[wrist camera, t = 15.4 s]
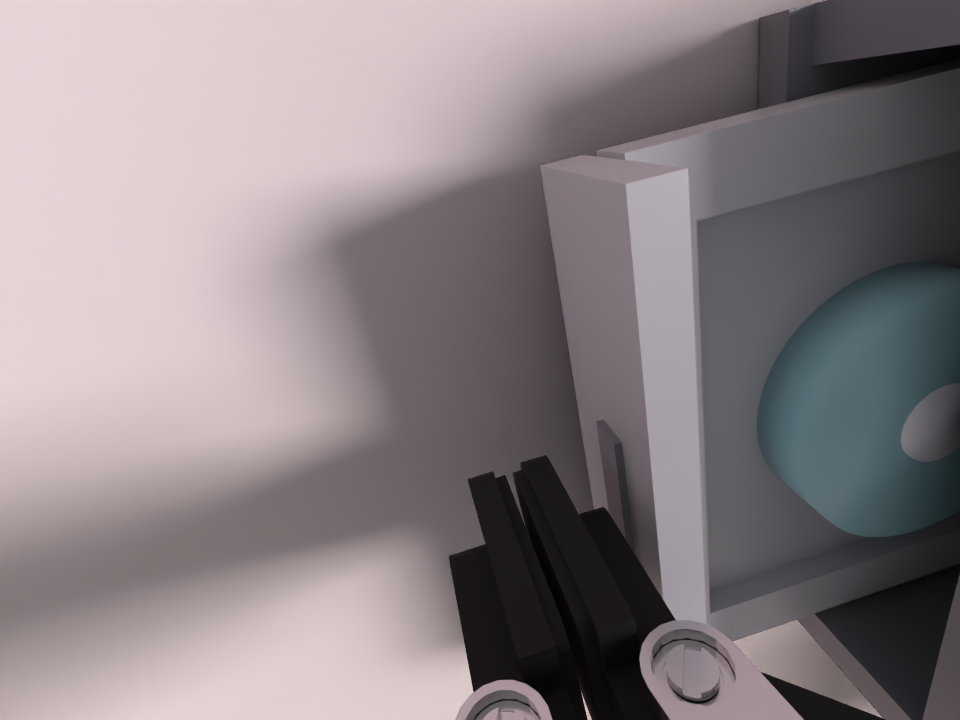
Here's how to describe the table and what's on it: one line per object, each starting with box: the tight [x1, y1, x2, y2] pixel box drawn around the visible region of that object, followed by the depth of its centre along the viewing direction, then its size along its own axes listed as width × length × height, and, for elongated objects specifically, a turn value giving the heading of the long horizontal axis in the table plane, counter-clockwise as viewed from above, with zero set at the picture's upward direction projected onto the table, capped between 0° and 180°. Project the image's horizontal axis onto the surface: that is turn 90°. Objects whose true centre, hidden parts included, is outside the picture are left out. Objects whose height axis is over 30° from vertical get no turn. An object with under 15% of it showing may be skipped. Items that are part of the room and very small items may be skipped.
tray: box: [540, 58, 960, 641], centre depth 11 cm, size 13×15×4 cm
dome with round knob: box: [757, 261, 960, 537], centre depth 12 cm, size 6×6×2 cm
